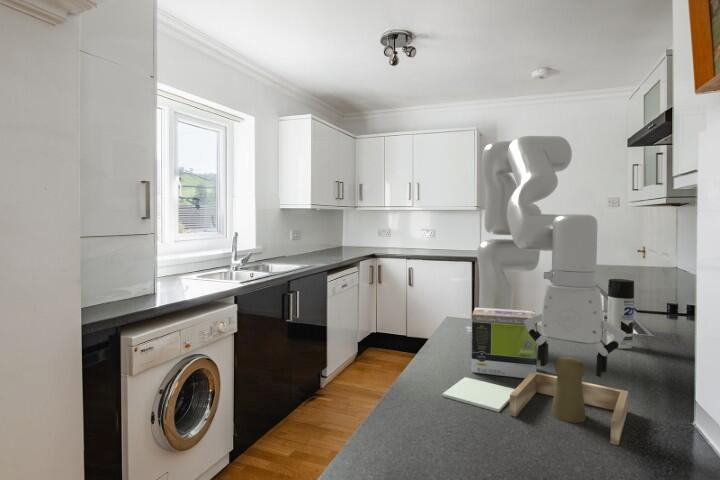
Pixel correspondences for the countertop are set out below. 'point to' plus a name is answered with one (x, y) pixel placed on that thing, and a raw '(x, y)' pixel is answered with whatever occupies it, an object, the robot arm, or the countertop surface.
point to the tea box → (503, 342)
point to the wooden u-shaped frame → (591, 395)
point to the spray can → (621, 309)
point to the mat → (480, 394)
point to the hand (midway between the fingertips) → (571, 369)
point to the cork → (569, 390)
